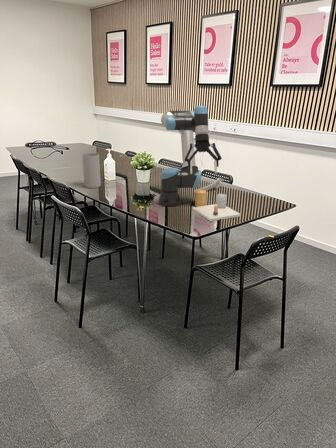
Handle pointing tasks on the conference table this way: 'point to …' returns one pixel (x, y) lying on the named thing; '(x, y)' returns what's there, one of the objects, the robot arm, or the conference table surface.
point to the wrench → (212, 185)
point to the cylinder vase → (91, 170)
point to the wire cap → (200, 198)
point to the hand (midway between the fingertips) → (203, 173)
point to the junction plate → (210, 211)
